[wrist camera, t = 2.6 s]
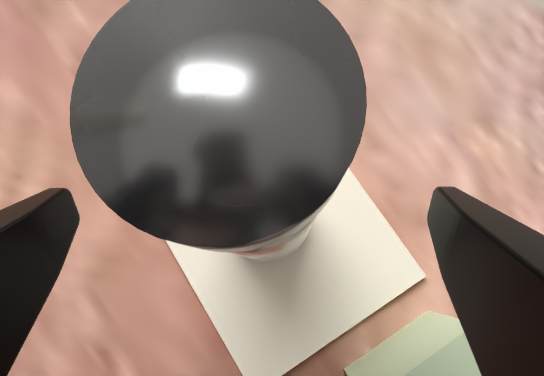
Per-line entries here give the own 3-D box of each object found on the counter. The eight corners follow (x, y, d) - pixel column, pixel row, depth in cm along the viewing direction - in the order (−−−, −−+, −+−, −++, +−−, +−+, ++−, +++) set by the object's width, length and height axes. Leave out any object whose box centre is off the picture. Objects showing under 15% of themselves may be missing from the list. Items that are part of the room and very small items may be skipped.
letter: (424, 275, 17) (426, 276, 17) (254, 392, 16) (253, 395, 16) (278, 73, 19) (278, 70, 19) (124, 166, 19) (122, 165, 18)
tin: (330, 231, 17) (429, 135, 5) (252, 282, 17) (157, 311, 5) (280, 157, 18) (261, -76, 6) (205, 204, 18) (22, 60, 6)
